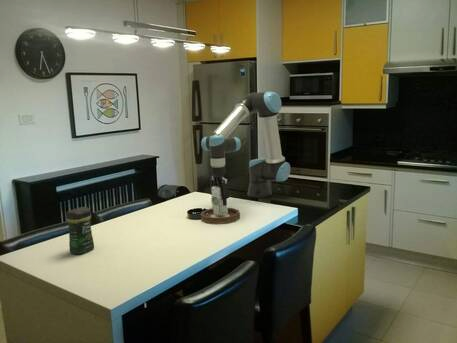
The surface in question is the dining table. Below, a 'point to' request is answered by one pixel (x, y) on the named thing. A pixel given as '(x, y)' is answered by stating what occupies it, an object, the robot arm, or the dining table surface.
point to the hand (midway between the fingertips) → (220, 210)
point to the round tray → (217, 219)
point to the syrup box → (217, 201)
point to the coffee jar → (80, 230)
